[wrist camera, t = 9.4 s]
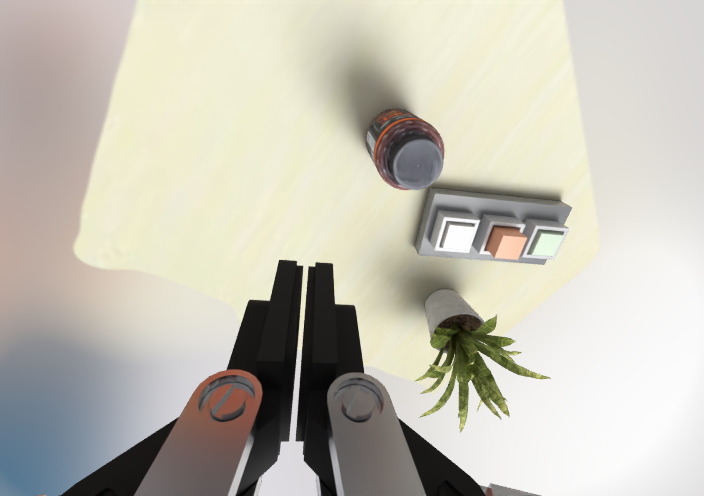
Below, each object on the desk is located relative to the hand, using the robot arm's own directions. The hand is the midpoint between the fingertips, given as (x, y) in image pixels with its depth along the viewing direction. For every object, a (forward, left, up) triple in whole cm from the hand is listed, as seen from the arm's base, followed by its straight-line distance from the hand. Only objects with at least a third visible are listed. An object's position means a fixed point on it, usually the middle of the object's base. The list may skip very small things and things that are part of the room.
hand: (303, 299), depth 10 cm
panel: (+8, +22, -27) cm, 36 cm away
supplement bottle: (-1, +8, -27) cm, 28 cm away
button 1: (+8, +17, -25) cm, 31 cm away
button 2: (+8, +22, -24) cm, 33 cm away
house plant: (+21, +18, -27) cm, 39 cm away
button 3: (+8, +27, -25) cm, 38 cm away
